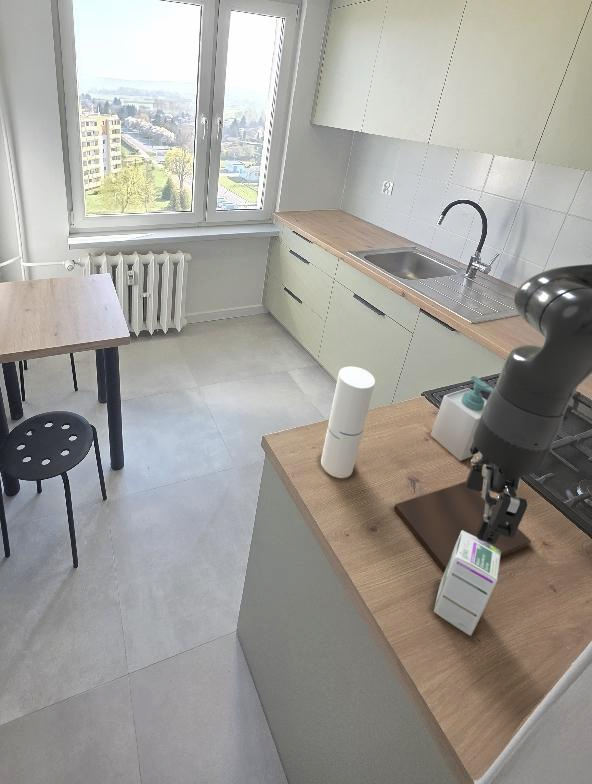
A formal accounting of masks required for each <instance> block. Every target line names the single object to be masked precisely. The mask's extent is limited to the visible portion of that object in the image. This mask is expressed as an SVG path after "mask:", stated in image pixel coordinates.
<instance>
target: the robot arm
mask: <svg viewBox="0 0 592 784" xmlns="http://www.w3.org/2000/svg"><path fill="white" fill-rule="evenodd" d="M513 306H514V309H515V311H516V312H517V314H518V315H519V316H520V318H521V319H523V320H524V321H525V322H526V323H527V324H529V326H530V327H532V328H534V330H536V331H537V332H538V333H539V334H540V335H542V336H543V337H544V343H543V345H542V346H539V345H533V344H522V345H519V346H516V347H514V348H512V350H511V351H510V352H509V353H508V354H507V355H508V356H507V357H506V359H505V361H504V364H503V366H502V368H501V371H500V373H499V376H498V379H497V381H496V384H495V386H494V387H493V391H492V392H491V393H490V394H489V396H488V398H487V399H486V400H487V402H486V405H485V408H484V410H483V413H482V415H481V418H480V420H479V423H478V425H477V428H476V431H475V433H474V437H473V439H474V441H473V443H472V446H471V448H470V453H471V454H473V455H474V456H472V458H471V459H470V465H471V467H470V470H469V472H468V474H467V478H466V480H465V482H466V486H467V488H469V489H472V490H475V491H479V492H481V493H482V496H481V497H482V499H483V500H484V501H485V509H484V515H483V518H482V520H481V522H480V524H479V526H478V529H477V531H476V535H477V538H478V539H479V540H481V541H484V542H487V543H490V544H495V543H496V542H497V540H498V538H499V536H500V535H503V536H506V537H509V538H513V537H514V535H515V533H516V531H517V529H519V526H520V524H521V521H522V520H523V518H524V515H525V513H526V510H527V508H528V501H527V499H526V498H522V497H519V496H518V489H519V488H520V487H521V478H522V477H526V476H528V475H534V474H536V473H538V472H539V471H540V470H541V469H542V466H543V464H544V463H545V461H546V459H547V457H548V454H549V453H550V450H551V449H552V447H553V444H554V442H555V440H556V438H557V437H558V434H559V432H560V430H561V427H562V424H563V420H564V416H565V414H566V411H567V409H568V407H569V406H570V404H571V401H572V399H573V398H574V395H575V393H576V391H577V389H578V387H579V386H580V385H581V384H582V383H584V381H585V380H586V379H587V378H588V377H590V376H591V375H592V263H587V264H577V265H576V264H575V265H568V266H567V265H566V266H560V267H554V268H550V269H548V270H543V271H541V272H539V273H537V274H534V275H533V276H530V277H529V278H527V279H526V280H525V281H524V282H523V283H522V284H521V285H520V286H519V287H518V288H517V289H516V291H515V294H514V297H513ZM491 492H492V493H496V494H498V495H499V496H497V497H493V496H491ZM494 505H495V508H494V510H493V513H492V507H493V506H494Z"/></svg>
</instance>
